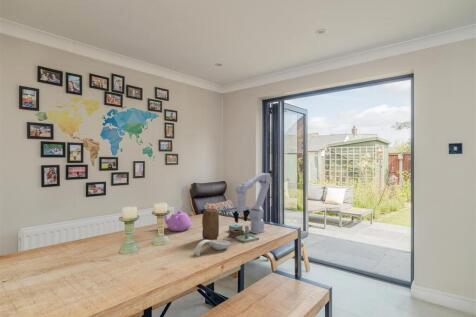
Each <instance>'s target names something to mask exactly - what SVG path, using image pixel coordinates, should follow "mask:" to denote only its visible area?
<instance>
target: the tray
mask: <svg viewBox="0 0 476 317" xmlns="http://www.w3.org/2000/svg"><path fill="white" fill-rule="evenodd" d="M235 240H237V241H239V242H242V243H243V244H246V243H249V242H253V241H258V240H260V237H259V236H257V235H255V234H252V233H249V239H245V234H244V235H241V236H236V238H235Z"/></svg>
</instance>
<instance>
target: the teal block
mask: <svg viewBox="0 0 476 317" xmlns="http://www.w3.org/2000/svg"><path fill="white" fill-rule="evenodd" d="M236 228H238V229H241V230H243V225H240V224H238V223H234V224H229V225H228V231H229V230H231V229H236Z"/></svg>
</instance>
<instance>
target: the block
mask: <svg viewBox="0 0 476 317" xmlns="http://www.w3.org/2000/svg"><path fill="white" fill-rule="evenodd" d="M201 219H202V220H201V223H202V224H201V225H202V231H201V232H202V233H201V234H202V240H218V237H219V234H220V233H219V230H220V227H219V226H220V219H219V211H218V210H216V209H215V208H207V209H205V210H204V211H203V213H202V218H201Z"/></svg>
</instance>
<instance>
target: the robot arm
mask: <svg viewBox="0 0 476 317" xmlns="http://www.w3.org/2000/svg"><path fill="white" fill-rule="evenodd" d="M271 182H272V175H271V174H270V173H269V172H268V173H266V172H258V173H256V175H255V176H253V177H252V178H251V179H246V180H245V181H244V182H242V183H241V184H238V185H236V187H235V192H236V208H233V209H231V214H232V216H233V218H234V222H235V224H238V223H239V216H240V212H243V213H242V214H243V222H247V221H248V218H249V219H250V229H249V233H251V234H252V233H253V234H259V233H263V232H264V233H265V223H264V219H263V218H264V213H265V210H264V209H263V206H264V202H265V199H266V197H267V194H268V190H269V187H270V183H271ZM256 183H259V185H260V189H259V192H258V194H257V195H258V196H257V198H256V201H255V204H254V205H253V206H252V207H250V206H248V207H246V200H247V199H246V196H247V195H246V194H247V192H248V191H249V190H250V189H251V188H252V187H253V186H254V184H256Z"/></svg>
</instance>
